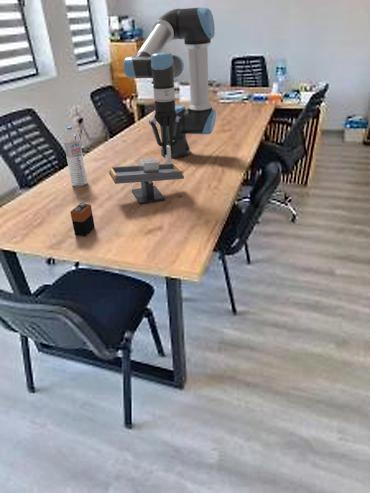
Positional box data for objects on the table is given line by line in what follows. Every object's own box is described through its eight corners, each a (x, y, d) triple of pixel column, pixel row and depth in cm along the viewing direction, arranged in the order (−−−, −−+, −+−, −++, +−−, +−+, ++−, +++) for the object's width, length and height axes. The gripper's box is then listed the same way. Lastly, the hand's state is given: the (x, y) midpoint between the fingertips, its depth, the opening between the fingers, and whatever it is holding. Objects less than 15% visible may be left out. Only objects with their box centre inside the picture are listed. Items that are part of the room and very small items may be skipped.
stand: (155, 188, 169) (153, 172, 166) (165, 200, 158) (163, 183, 154) (132, 192, 166) (130, 176, 163) (140, 205, 155) (138, 188, 151)
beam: (173, 172, 167) (174, 162, 166) (183, 181, 158) (184, 171, 156) (109, 176, 159) (108, 166, 157) (115, 186, 149) (114, 176, 147)
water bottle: (72, 188, 173) (60, 129, 160) (71, 182, 179) (60, 125, 166) (88, 186, 175) (78, 128, 162) (87, 180, 180) (77, 124, 168)
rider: (154, 170, 161) (154, 157, 158) (158, 175, 156) (159, 162, 154) (139, 171, 159) (139, 158, 157) (143, 176, 154) (143, 163, 152)
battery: (95, 227, 140) (90, 201, 135) (85, 237, 135) (80, 210, 130) (84, 226, 141) (79, 200, 136) (74, 235, 136) (68, 209, 131)
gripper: (150, 103, 141) (155, 167, 153) (184, 99, 145) (187, 162, 157) (144, 100, 147) (150, 162, 159) (178, 96, 151) (180, 157, 163)
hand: (168, 162), depth 158 cm, fingers closed
